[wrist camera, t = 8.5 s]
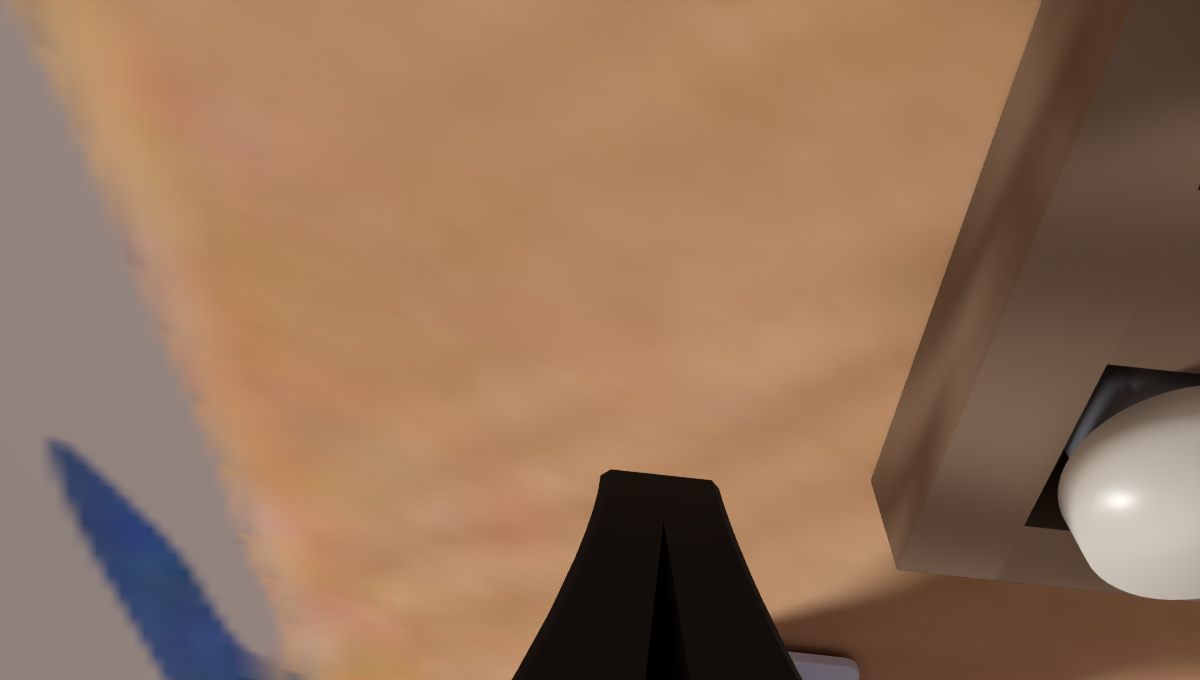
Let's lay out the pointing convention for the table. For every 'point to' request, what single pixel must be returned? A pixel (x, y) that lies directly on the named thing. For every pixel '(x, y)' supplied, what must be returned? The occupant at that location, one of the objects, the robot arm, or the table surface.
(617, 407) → the table surface
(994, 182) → the knob mount
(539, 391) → the table surface
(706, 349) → the table surface
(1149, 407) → the knob
